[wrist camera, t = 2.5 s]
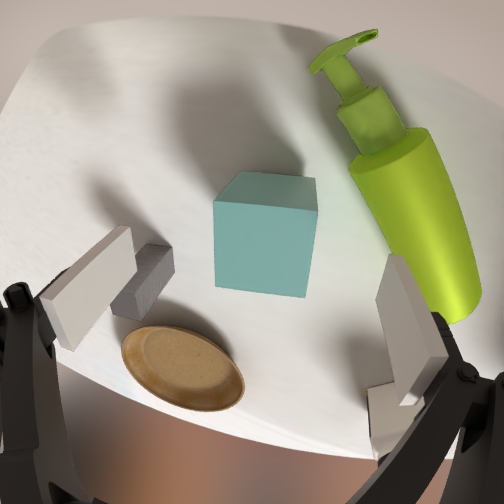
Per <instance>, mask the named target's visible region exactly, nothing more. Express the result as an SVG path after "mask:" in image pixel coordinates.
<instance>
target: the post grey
mask: <svg viewBox="0 0 504 504" xmlns="http://www.w3.org/2000/svg"><path fill="white" fill-rule="evenodd" d="M135 260H136V266H137V272H136V273H135V274H134V275H133V277H132V278H131V279H130V280H129V281H128V283H127V284H126V285H125V286H124V288H123V289H122V290H121V291H120V292H119V294H118V295H117V296H116V297H115V299H114V300H113V301H112V302H111V304H110V306H111V310H112V313H113V315H117V316H121V317H125V318H129V319H134V320H138V321H142V319H143V318H144V316H145V315H146V313H147V312H148V310H149V309H150V307H151V306H152V304H153V303H154V301H155V300H156V299H157V297H158V296H159V294H160V293H161V291H162V290H163V288H164V287H165V286H166V284H167V283H168V281H169V280H170V278H171V277H172V276H173V274H174V273H175V270H174V261H173V250H172V247H167V246H158V245H150V244H146V245H145V246H144V247H143V248H142V249H141V250H140V251H139V252H138V253H137V254H136V255H135Z"/></svg>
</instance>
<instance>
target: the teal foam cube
mask: <svg viewBox="0 0 504 504" xmlns="http://www.w3.org/2000/svg"><path fill="white" fill-rule="evenodd" d="M213 215H214V263H215V287H221V288H229V289H236V290H243V291H251V292H258V293H266V294H274V295H282V296H291V297H299V298H305V296H306V290H307V284H308V278H309V272H310V265H311V259H312V252H313V245H314V238H315V231H316V224H317V216H318V204H317V193H316V183H315V178H310V177H301V176H291V175H281V174H270V173H258V172H245V171H240V172H239V173H238V174H237V175H236V176H235V177H234V179H233V180H232V181H231V182H230V183H229V184H228V185H227V186H226V187H225V189H224V190H223V191H222V192H221V193H220V194H219V195H218V196H217V197H216V199H215V200H214V201H213Z"/></svg>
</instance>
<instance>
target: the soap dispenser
mask: <svg viewBox="0 0 504 504" xmlns="http://www.w3.org/2000/svg"><path fill="white" fill-rule="evenodd" d="M377 37H378V29H372V30H367V31H363V32H360V33H357V34H355V35H352V36H350V37H348V38H345V39H343V40H341V41H338V42H336V43H334V44H332V45H330V46H329V47H327V48H326V49H324V50H323V51H322V52H321V53H320V54H319V55H318V56H317V57H316V58H315V59H314V60H313V61H312V63H311V64H310V65H309V66H308V70H309V71H310V72H311V74H312V75H314V74H316V73H318V72H319V71H321V70H323V72H324V73H325V74H326V76H327V77H328V79H329V80H330V81H331V83H332V84H333V86H334V87H335V89H336V90H337V92H338V93H339V94H340V96H341V97H342V99H343V101H341V102H340V103H339V105H340V108H338V109H337V110H336V114H337V116H338V117H339V119H340V120H341V122H342V123H343V125H344V126H345V128H346V130H347V131H348V133H349V134H350V136H351V138H352V139H353V141H354V143H355V144H356V146H357V148H358V149H359V151H360V154H359V155H358V156H357V157H356V158H355V159H354V160H353V161H352V162H351V164H350V165H349V168H348V170H349V172H350V174H351V176H352V177H353V179H354V181H355V183H356V184H357V186H358V188H359V190H360V191H361V193H362V195H363V197H364V199H365V200H366V202H367V204H368V206H369V208H370V209H371V211H372V213H373V215H374V217H375V219H376V221H377V223H378V225H379V227H380V229H381V230H382V232H383V234H384V236H385V238H386V240H387V242H388V244H389V247H390V249H391V251H392V253H393V255H401V256H403V257H404V259H405V261H406V262H407V264H408V266H409V268H410V270H411V272H412V274H413V276H414V278H415V280H416V282H417V284H418V286H419V289H420V291H421V293H422V295H423V297H424V299H425V301H426V303H427V306H428V308H429V310H430V312H439V313H440V315H441V316H442V317H443V318H444V319H445V320H446V322H447V324H448V325H449V324H453V323H456V322H459V321H461V320H462V319H464V318H466V317H467V316H468V315H469V314H471V313H472V312H473V311H474V309H475V308H476V307H477V305H478V303H479V301H480V298H481V294H482V288H481V283H480V278H479V274H478V269H477V265H476V261H475V257H474V253H473V249H472V245H471V242H470V238H469V235H468V231H467V228H466V225H465V221H464V218H463V215H462V212H461V209H460V206H459V203H458V200H457V198H456V195H455V192H454V189H453V187H452V184H451V181H450V179H449V176H448V174H447V171H446V169H445V167H444V164H443V162H442V159H441V157H440V155H439V153H438V150H437V148H436V146H435V144H434V142H433V140H432V137H431V135H430V133H429V131H428V130H427V129H425V128H411V129H406V128H405V126H404V124H403V122H402V120H401V118H400V117H399V115H398V113H397V111H396V110H395V108H394V106H393V104H392V103H391V101H390V99H389V98H388V96H387V94H386V93H385V91H384V90H383V88H382V87H377V88H374V87H373V86H368V87H366V86H365V84H364V83H363V81H362V80H361V78H360V77H359V75H358V74H357V72H356V71H355V69H354V68H353V66H352V65H351V64H350V62H349V61H348V59H347V58H346V57H345V54H346V53H347V52H348V51H350V50H351V49H352V48H354V47H357V46H359V45H361V44H363V43H365V42H368V41H370V40H372V39H375V38H377Z"/></svg>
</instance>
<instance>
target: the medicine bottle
mask: <svg viewBox="0 0 504 504" xmlns="http://www.w3.org/2000/svg"><path fill="white" fill-rule="evenodd" d="M366 395H367V407H368V420H369V435H370V442H371V446H372V451H373V455H374V459H375V460H378V467H379V466H380V465H381V464H382V462H383V461H384V460H385V459H386V457H387V456H388V455H389V454H390V452H391V451H392V450H393V449H394V447H395V446H396V445H397V443H398V442H399V441H400V439H401V438H402V436H403V435H404V434H405V432H406V431H407V429H408V428H409V427H410V425H411V424H412V422H413V421H414V417H415V416H416V415H417V414H418V412H419V411H420V410H421V409H422V407H423V406H424V405H425V402H424V398H423V396H422V398H421V399H420V401H419V402H418V403H417V405H404V406H399V404H398V398H397V392H396V387H395V382H392V383H388V384H384V385H380V386H376V387H371V388H368V389H367V390H366Z"/></svg>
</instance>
